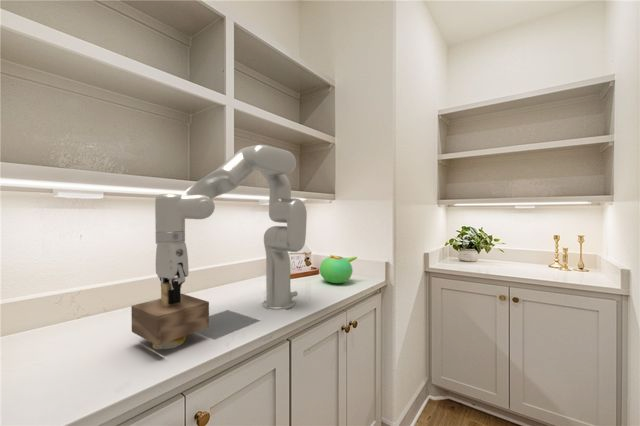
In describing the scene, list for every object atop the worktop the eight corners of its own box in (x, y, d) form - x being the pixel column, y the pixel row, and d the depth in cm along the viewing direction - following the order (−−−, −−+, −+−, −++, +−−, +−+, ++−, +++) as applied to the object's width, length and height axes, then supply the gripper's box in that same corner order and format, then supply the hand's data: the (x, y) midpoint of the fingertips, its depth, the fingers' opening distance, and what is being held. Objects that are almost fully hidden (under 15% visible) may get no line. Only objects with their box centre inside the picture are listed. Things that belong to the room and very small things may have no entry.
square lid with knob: (181, 316, 94) (181, 274, 94) (209, 326, 85) (208, 281, 85) (131, 331, 82) (131, 284, 82) (157, 345, 73) (156, 292, 73)
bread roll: (188, 336, 89) (188, 323, 89) (181, 350, 80) (181, 335, 80) (158, 339, 87) (158, 325, 87) (148, 353, 78) (148, 338, 78)
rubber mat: (227, 311, 110) (227, 310, 110) (260, 321, 100) (260, 320, 100) (181, 326, 95) (181, 325, 95) (214, 341, 85) (214, 339, 85)
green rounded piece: (313, 281, 156) (313, 254, 156) (337, 277, 166) (337, 251, 166) (335, 288, 142) (335, 258, 141) (360, 283, 152) (360, 255, 152)
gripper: (199, 238, 82) (199, 303, 82) (169, 235, 91) (169, 294, 91) (172, 240, 76) (173, 311, 76) (143, 237, 85) (143, 300, 85)
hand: (171, 301), depth 84 cm, fingers closed on square lid with knob, 3 cm apart
